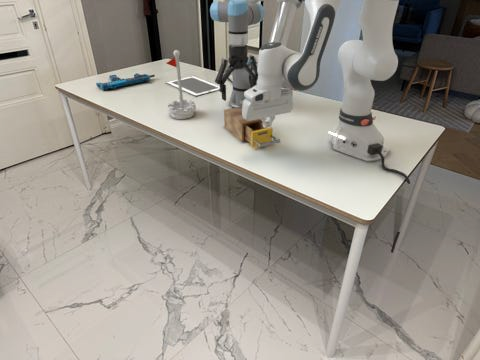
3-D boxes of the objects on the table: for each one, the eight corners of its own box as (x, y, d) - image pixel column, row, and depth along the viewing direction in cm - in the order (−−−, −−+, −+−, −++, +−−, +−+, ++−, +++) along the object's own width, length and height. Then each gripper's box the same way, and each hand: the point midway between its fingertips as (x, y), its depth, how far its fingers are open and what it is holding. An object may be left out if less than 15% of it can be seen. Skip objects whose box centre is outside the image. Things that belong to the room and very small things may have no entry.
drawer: (280, 148, 134) (281, 133, 130) (259, 154, 130) (260, 138, 127) (252, 128, 150) (253, 114, 146) (234, 132, 146) (234, 118, 143)
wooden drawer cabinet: (263, 137, 145) (264, 118, 140) (242, 142, 140) (242, 123, 136) (244, 122, 157) (244, 105, 153) (224, 127, 153) (223, 109, 149)
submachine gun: (140, 68, 225) (159, 74, 209) (141, 73, 227) (159, 80, 211) (88, 78, 207) (104, 85, 190) (90, 84, 209) (106, 92, 192)
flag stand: (192, 108, 172) (187, 46, 156) (199, 117, 162) (194, 52, 146) (166, 111, 169) (158, 48, 152) (172, 121, 158) (164, 54, 142)
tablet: (166, 82, 208) (166, 82, 207) (193, 76, 219) (193, 76, 219) (195, 96, 187) (195, 95, 187) (224, 88, 198) (224, 87, 198)
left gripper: (260, 39, 140) (259, 90, 152) (205, 45, 131) (208, 99, 142) (270, 43, 135) (268, 95, 146) (212, 49, 125) (215, 104, 137)
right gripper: (288, 84, 128) (285, 118, 135) (239, 92, 120) (240, 128, 127) (297, 89, 123) (294, 124, 131) (248, 98, 115) (248, 135, 123)
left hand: (238, 97), depth 144 cm, fingers open, 13 cm apart
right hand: (267, 126), depth 129 cm, fingers closed
